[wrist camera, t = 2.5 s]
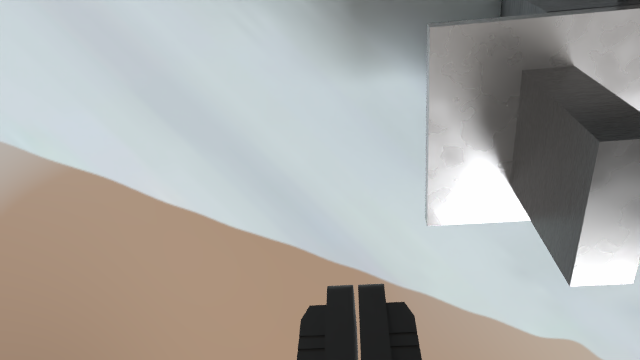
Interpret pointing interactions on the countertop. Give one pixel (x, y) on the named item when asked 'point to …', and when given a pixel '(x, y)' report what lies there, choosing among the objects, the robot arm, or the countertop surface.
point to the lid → (541, 133)
